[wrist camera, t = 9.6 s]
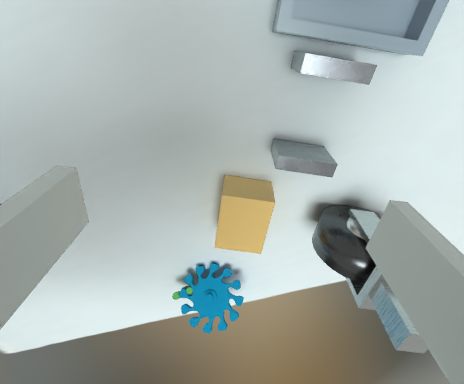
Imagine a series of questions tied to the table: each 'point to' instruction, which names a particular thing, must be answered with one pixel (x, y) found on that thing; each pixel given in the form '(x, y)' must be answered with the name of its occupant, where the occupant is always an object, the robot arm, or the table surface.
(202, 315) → the blue lobed piece
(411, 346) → the wheel
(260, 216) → the block
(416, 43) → the tray
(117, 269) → the table surface
